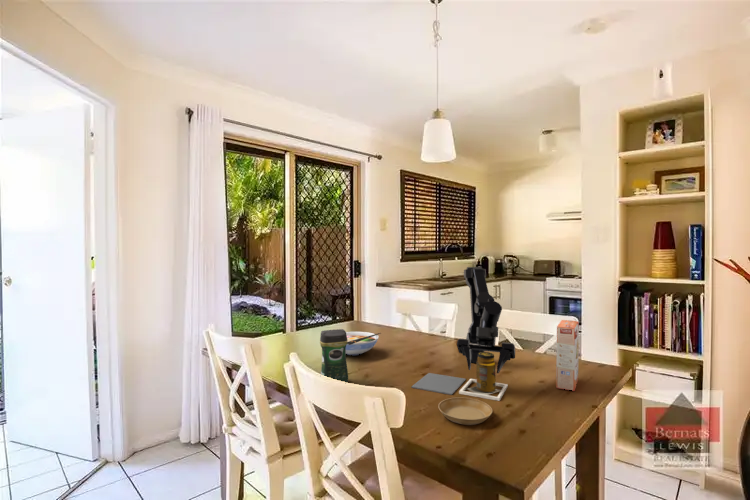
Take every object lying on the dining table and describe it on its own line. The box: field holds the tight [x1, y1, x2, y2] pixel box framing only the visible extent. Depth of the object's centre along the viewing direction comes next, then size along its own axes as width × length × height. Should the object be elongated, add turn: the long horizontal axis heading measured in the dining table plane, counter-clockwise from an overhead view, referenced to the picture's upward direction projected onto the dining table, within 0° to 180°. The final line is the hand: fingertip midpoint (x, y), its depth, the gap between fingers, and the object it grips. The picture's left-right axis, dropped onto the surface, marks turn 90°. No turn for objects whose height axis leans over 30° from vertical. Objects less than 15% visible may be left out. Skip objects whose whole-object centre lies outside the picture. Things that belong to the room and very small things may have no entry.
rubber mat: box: [411, 372, 467, 396], centre depth 134 cm, size 16×14×1 cm
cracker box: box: [555, 319, 580, 392], centre depth 133 cm, size 14×6×21 cm, turn 148°
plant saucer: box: [437, 396, 493, 426], centre depth 109 cm, size 15×15×3 cm
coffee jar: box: [319, 328, 349, 383], centre depth 136 cm, size 10×8×19 cm
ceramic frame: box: [458, 378, 508, 402], centre depth 128 cm, size 14×13×1 cm
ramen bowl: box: [346, 331, 382, 356], centre depth 174 cm, size 25×23×8 cm
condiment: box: [466, 351, 502, 396], centre depth 128 cm, size 7×8×12 cm
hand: (483, 371), depth 127 cm, fingers open, 9 cm apart
